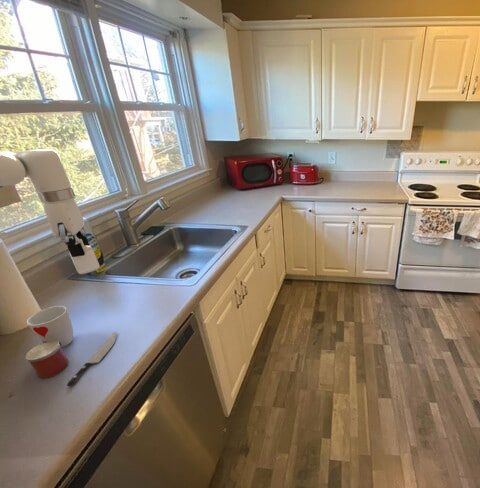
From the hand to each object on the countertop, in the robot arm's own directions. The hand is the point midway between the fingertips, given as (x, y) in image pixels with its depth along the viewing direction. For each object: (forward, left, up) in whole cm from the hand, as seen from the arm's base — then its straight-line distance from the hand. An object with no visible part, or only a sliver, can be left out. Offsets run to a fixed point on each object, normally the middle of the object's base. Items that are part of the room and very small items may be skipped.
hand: (81, 251), depth 87 cm
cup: (-7, -15, -21) cm, 27 cm away
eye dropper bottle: (0, 0, -7) cm, 7 cm away
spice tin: (-5, -26, -21) cm, 34 cm away
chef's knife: (+5, -26, -21) cm, 34 cm away
